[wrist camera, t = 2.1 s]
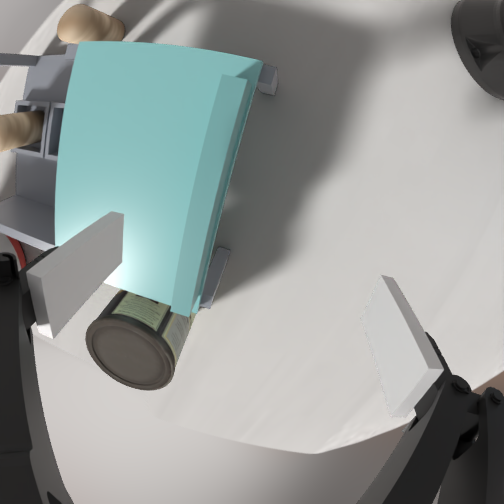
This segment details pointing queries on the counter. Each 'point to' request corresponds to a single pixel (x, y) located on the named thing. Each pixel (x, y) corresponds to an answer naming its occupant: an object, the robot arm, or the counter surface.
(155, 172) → the lid
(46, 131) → the frame
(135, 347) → the coffee can
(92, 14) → the tan rounded cylinder
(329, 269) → the counter surface
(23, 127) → the tan wooden cylinder
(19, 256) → the citrus juicer
